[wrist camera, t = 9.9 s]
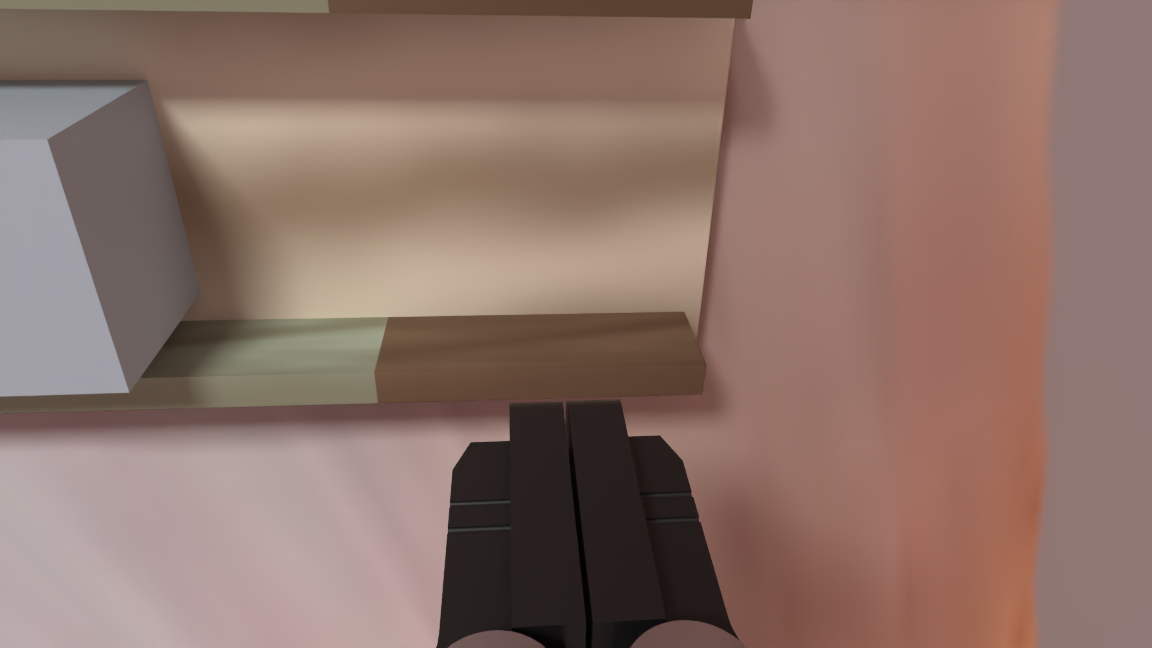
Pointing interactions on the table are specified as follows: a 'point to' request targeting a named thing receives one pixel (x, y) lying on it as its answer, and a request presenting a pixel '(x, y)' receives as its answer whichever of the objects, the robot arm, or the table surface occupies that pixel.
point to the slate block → (86, 237)
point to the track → (416, 191)
